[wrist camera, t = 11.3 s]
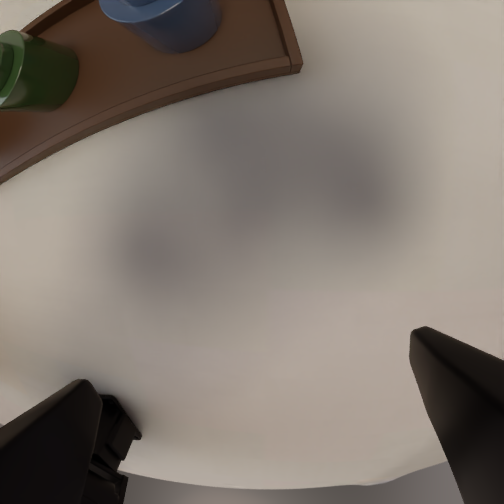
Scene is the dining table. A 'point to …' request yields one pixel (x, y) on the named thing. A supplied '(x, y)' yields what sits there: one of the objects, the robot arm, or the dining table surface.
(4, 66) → the green bottle
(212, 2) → the blue bottle
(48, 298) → the dining table surface
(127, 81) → the tray
